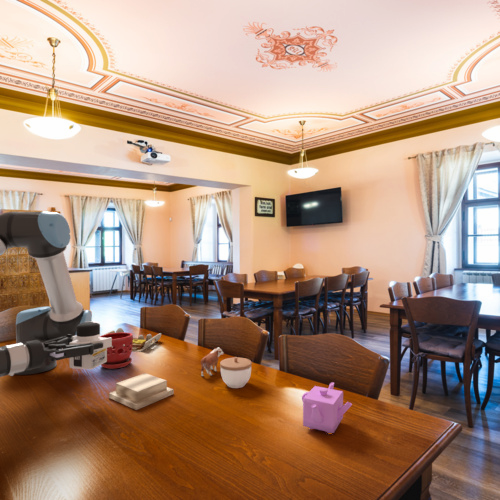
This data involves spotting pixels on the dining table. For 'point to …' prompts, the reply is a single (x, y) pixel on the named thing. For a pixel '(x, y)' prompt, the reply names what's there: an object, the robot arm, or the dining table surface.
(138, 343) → the toy food set
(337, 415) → the teapot
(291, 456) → the dining table surface
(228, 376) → the lidded jar
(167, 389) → the plinth
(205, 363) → the bull figurine
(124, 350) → the plant pot
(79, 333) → the container
